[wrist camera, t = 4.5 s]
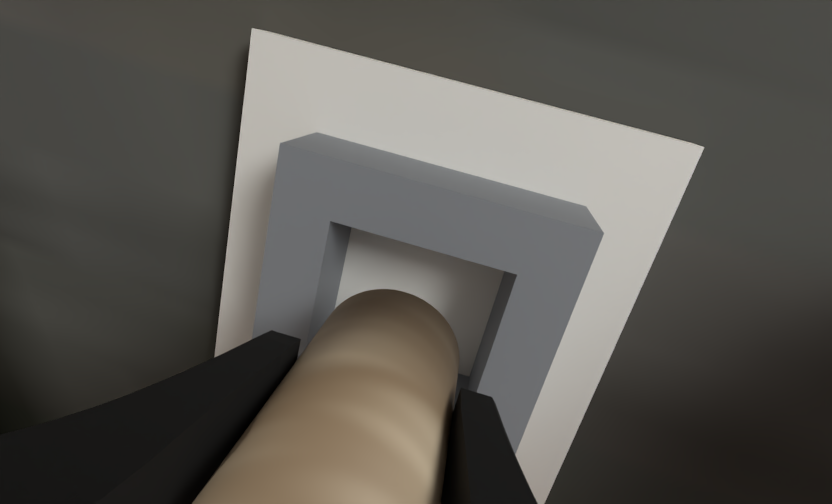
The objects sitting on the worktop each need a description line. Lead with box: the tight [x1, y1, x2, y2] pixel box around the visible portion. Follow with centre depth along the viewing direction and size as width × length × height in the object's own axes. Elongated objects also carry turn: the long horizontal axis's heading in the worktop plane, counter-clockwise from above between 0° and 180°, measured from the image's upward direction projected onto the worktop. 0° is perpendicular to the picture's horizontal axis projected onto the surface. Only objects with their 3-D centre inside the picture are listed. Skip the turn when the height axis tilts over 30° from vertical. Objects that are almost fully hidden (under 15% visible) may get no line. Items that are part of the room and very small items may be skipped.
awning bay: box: [214, 28, 704, 504], centre depth 13 cm, size 12×16×7 cm
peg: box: [192, 289, 460, 504], centre depth 9 cm, size 3×3×6 cm
